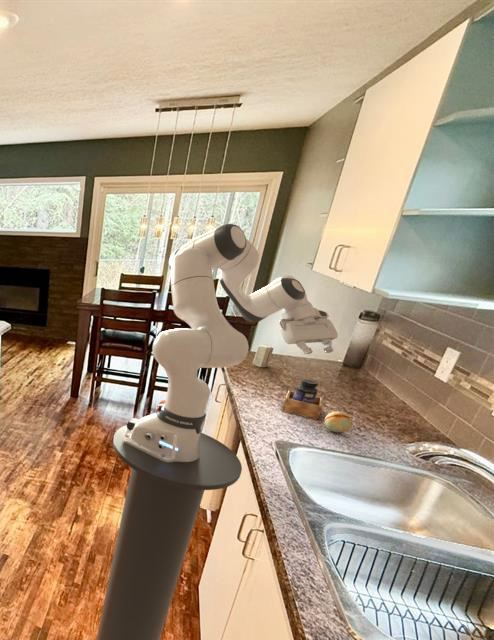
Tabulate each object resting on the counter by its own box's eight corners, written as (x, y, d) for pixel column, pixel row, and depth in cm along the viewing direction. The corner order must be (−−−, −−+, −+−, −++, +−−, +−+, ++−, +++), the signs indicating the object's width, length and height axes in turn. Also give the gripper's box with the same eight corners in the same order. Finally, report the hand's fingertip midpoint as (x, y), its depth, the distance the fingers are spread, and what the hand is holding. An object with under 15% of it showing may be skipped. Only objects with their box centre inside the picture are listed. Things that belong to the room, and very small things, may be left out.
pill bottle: (300, 412, 143) (311, 385, 139) (285, 405, 149) (295, 378, 144) (314, 411, 144) (324, 384, 140) (298, 404, 150) (308, 377, 146)
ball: (320, 424, 137) (327, 406, 134) (346, 430, 133) (354, 411, 130) (321, 432, 131) (329, 413, 129) (348, 438, 128) (357, 419, 125)
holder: (281, 410, 146) (285, 398, 144) (284, 401, 153) (288, 390, 151) (317, 419, 140) (322, 407, 138) (318, 410, 147) (323, 397, 145)
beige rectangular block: (268, 367, 191) (274, 347, 187) (260, 367, 190) (266, 347, 187) (259, 363, 196) (265, 344, 192) (251, 364, 195) (257, 344, 191)
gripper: (286, 313, 133) (304, 350, 128) (330, 312, 138) (350, 347, 133) (270, 323, 138) (287, 358, 133) (313, 321, 144) (332, 355, 138)
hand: (319, 352), depth 133 cm, fingers open, 8 cm apart
